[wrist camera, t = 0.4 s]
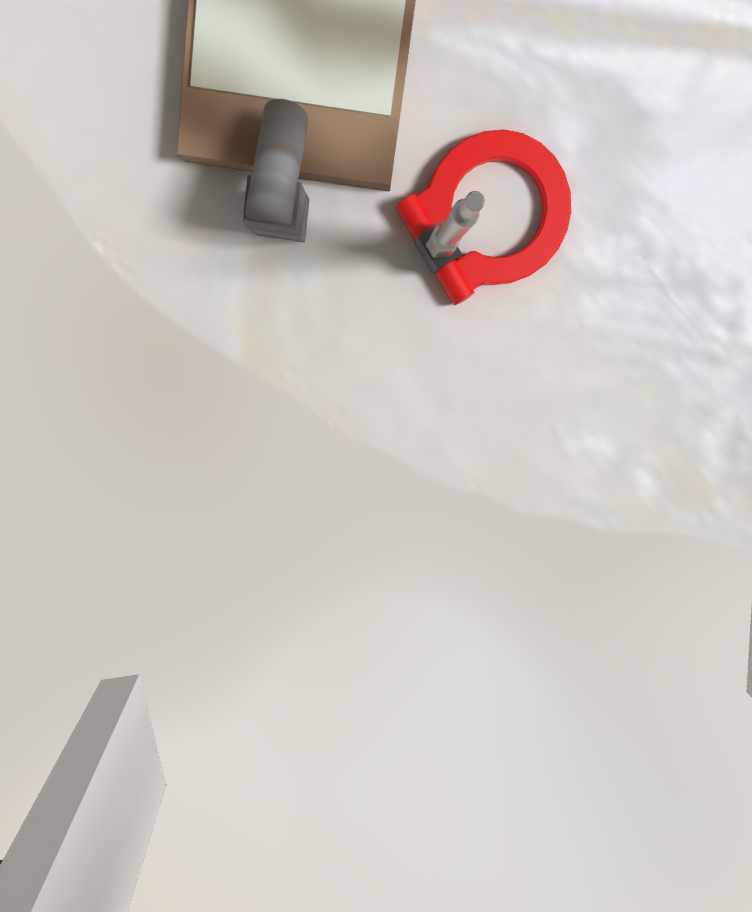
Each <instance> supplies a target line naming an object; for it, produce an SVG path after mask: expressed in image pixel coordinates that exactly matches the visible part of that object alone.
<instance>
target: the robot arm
mask: <svg viewBox="0 0 752 912" xmlns="http://www.w3.org/2000/svg"><path fill="white" fill-rule="evenodd" d="M747 693H748V694H749V695H750V696H751V697H752V610H751V626H750V644H749V660H748V677H747ZM165 787H166V781H165V777H164V773H163V769H162V765H161V761H160V757H159V753H158V749H157V745H156V740H155V736H154V732H153V728H152V724H151V720H150V716H149V712H148V708H147V704H146V700H145V696H144V692H143V687H142V683H141V679H140V675H132V676H125V677H119V678H112V679H105V680H101V681H100V683H99V685H98V687H97V689H96V691H95V693H94V694H93V697H92V698H91V700H90V702H89V703H88V705H87V707H86V709H85V711H84V713H83V715H82V716H81V718H80V720H79V722H78V724H77V725H76V727H75V729H74V731H73V733H72V734H71V736H70V738H69V740H68V742H67V744H66V746H65V747H64V749H63V751H62V753H61V755H60V756H59V759H58V760H57V762H56V764H55V766H54V768H53V769H52V771H51V773H50V775H49V777H48V779H47V780H46V782H45V784H44V786H43V788H42V789H41V791H40V793H39V795H38V797H37V799H36V800H35V802H34V804H33V806H32V808H31V810H30V811H29V813H28V815H27V817H26V819H25V820H24V822H23V824H22V826H21V828H20V830H19V832H18V834H17V835H16V837H15V839H14V841H13V843H12V844H11V846H10V848H9V850H8V852H7V853H6V855H5V857H4V859H3V860H0V912H128V910H129V907H130V903H131V900H132V897H133V893H134V890H135V887H136V883H137V880H138V877H139V873H140V870H141V867H142V864H143V860H144V857H145V854H146V850H147V847H148V843H149V840H150V837H151V833H152V830H153V827H154V824H155V820H156V817H157V814H158V810H159V807H160V804H161V801H162V797H163V794H164V790H165Z"/></svg>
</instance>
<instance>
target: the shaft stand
mask: <svg viewBox="0 0 752 912" xmlns="http://www.w3.org/2000/svg"><path fill="white" fill-rule="evenodd" d="M415 1H416V0H189V1H188V14H187V28H186V41H185V54H184V68H183V81H182V95H181V108H180V121H179V135H178V148H177V154H178V155H179V156H180V157H181V158H182V159H183V160H185V161H187V162H194V163H201V164H208V165H214V166H221V167H228V168H235V169H242V170H249V171H252V176H250V175H248V176H247V186H246V197H245V207H244V218H243V223H244V224H245V225H246V226H247V227H248V228H250V229H251V230H252V231H253V232H255V233H256V234H257V235H260V236H267V237H274V238H281V239H288V240H295V241H302V242H305V234H306V225H307V217H308V208H309V198H308V196H307V194H306V192H305V190H304V188H303V186H302V184H301V183H298V179H299V178H303V179H310V180H317V181H324V182H331V183H338V184H344V185H351V186H358V187H365V188H372V189H379V190H386V191H390V186H391V178H392V171H393V164H394V156H395V149H396V142H397V134H398V127H399V119H400V112H401V105H402V97H403V90H404V83H405V75H406V68H407V60H408V53H409V46H410V38H411V31H412V24H413V16H414V9H415Z"/></svg>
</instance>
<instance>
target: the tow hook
mask: <svg viewBox="0 0 752 912" xmlns="http://www.w3.org/2000/svg"><path fill="white" fill-rule="evenodd" d="M493 161H503V162H508V163H512V164H514V165H516V166H518V167H520V168H522V169H523V170H525V171H526V172H527V173H528V174H529V175H530V176H531V177H532V178H533V180H534V182H535V183H536V185H537V186H538V188H539V192H540V195H541V198H542V209H543V214H542V219H541V223H540V227H539V229H538V231H537V233H536V235H535V237H534V238H533V239H532V241H531V242H530V243H529V244H528V245H527V246H526V247H525V248H524V249H522V250H521V251H520V252H518V253H515V254H513V255H510V256H506V257H491V256H485V255H482V254H480V253H478V252H476V251H470V252H469V253H467V254H466V255H464V256H463V257H461V258H460V259H458V260H457V261H456V260H455V259H456V258H457V257H459V256H460V255H461V252H460V250H459V248H458V247H457V246H458V244H459V242H460V240H461V238H462V237H463V236H464V235H465V233H466V232H467V231H468V230H469V229H470V228H471V227H472V226H473V225H474V224H475V223H476V221H477V220H478V218H479V211H480V210H481V209H482V207H483V206H484V202H485V200H484V196H483V195H482V194H481V193H480V192H478V191H472V192H470V193H469V194H468V195H467V196H466V198H464V199H461V200H459V201H457V202H456V203H455V205H454V206H453V208H452V202H453V196H454V192H455V190H456V188H457V185H458V183H459V182H460V180H461V179H462V178H463V177H464V175H465V174H466V173H468V172H469V171H470V170H472V169H473V168H474V167H476V166H478V165H481V164H484V163H486V162H493ZM396 209H397V211H398V213H399V214H400V216H401V218H402V219H403V221H404V223H405V224H406V226H407V228H408V229H409V231H410V233H411V234H412V236H413V238H414V239H415V241H416V242H415V244H416V246H417V248H418V249H419V251H420V253H421V254H422V256H423V258H424V259H425V261H426V262H427V264H428V266H429V267H430V269H431V271H432V272H433V273H435V274H436V276H437V278H438V279H439V281H440V282H441V284H442V286H443V287H444V289H445V291H446V292H447V294H448V296H449V297H450V299H451V301H452V302H453V304H454V305H457V304H460V303H461V302H463V301H465V300H466V299H468V298H469V297H471V295H472V294H473V293H474V291H473V290H474V289H475V288H477V287H478V286H480V285H481V284H483V283H484V284H489V285H496V284H507V283H512V282H515V281H517V280H520V279H522V278H525V277H528V276H530V275H532V274H533V273H534V272H536V271H537V270H539V269H540V268H541V267H543V266H544V265H546V264H547V262H548V261H549V260H550V259H551V258H552V256H553V255H554V254H555V253H556V252H557V250H558V249H559V247H560V245H561V243H562V241H563V239H564V237H565V235H566V233H567V230H568V225H569V220H570V215H571V192H570V188H569V185H568V182H567V178H566V175H565V172H564V170H563V169H562V167H561V165H560V164H559V162H558V160H557V159H556V157H555V156H554V155H553V154H552V153H551V152H550V151H549V150H548V149H547V148H546V147H545V146H544V145H543V144H542V143H541V142H539V141H537V140H535V139H533V138H531V137H529V136H527V135H525V134H523V133H519V132H514V131H509V130H494V131H484V132H482V133H479V134H476V135H474V136H471V137H469V138H466V139H465V140H463V141H462V142H461V143H459V144H458V145H457V146H455V147H454V148H453V149H451V150H450V151H449V152H448V154H447V155H446V156H445V157H444V159H443V160H442V161H441V162H440V164H439V165H438V166H437V169H436V171H435V173H434V175H433V178H432V180H431V182H430V184H429V186H428V188H427V189H426V190H424V191H423V192H421V193H420V194H418V195H416V194H412V195H410V196H408V197H407V198H405V199H404V200H403V201H401V202H400V203H399V204H398V205H397V206H396Z"/></svg>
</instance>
